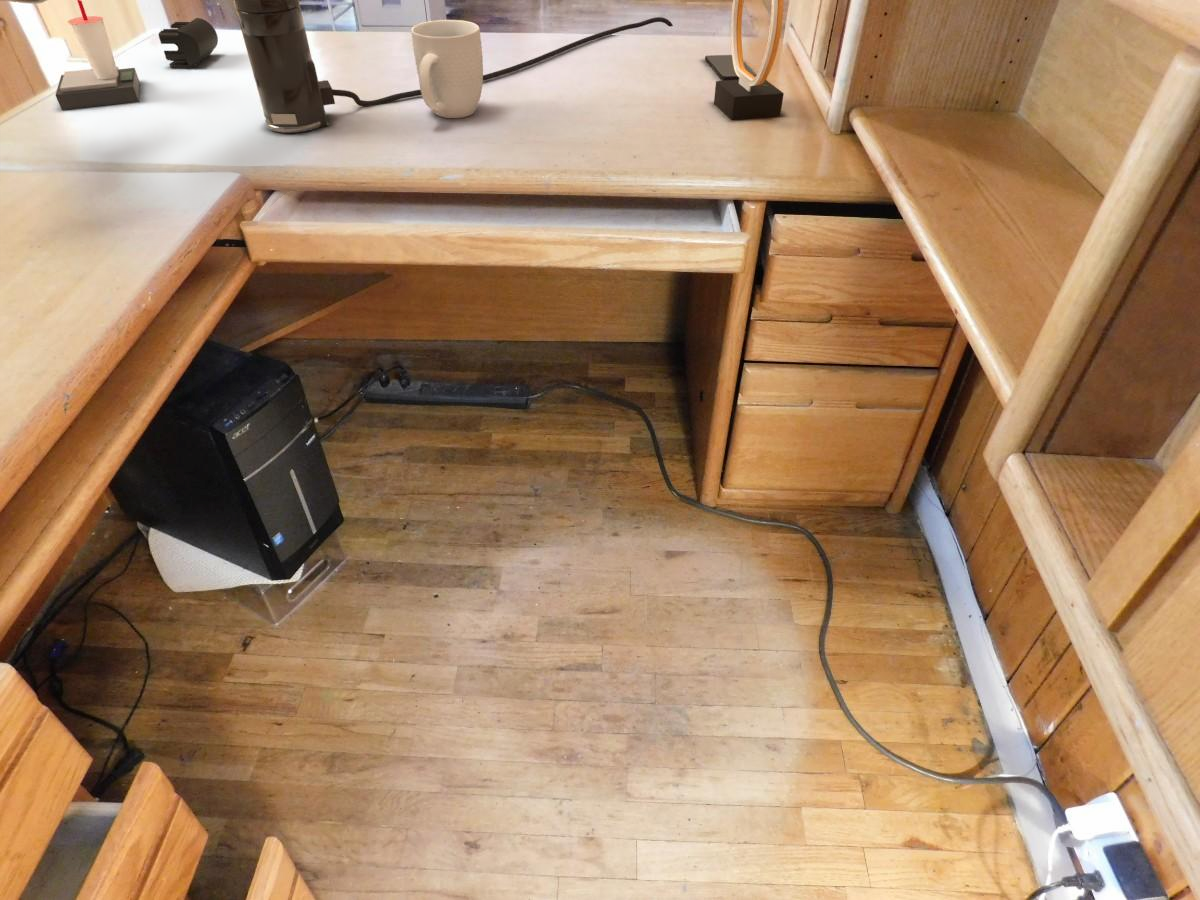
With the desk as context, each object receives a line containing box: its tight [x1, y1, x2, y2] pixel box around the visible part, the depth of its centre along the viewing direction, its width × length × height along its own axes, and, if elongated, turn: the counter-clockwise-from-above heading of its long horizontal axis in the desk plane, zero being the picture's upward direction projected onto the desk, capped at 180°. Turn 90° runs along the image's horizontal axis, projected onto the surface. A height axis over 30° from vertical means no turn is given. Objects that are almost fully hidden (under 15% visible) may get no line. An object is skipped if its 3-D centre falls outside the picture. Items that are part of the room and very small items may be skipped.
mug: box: [410, 19, 484, 119], centre depth 127 cm, size 15×11×13 cm
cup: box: [67, 0, 118, 79], centre depth 131 cm, size 5×5×12 cm
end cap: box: [158, 17, 219, 69], centre depth 151 cm, size 10×7×7 cm
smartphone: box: [704, 54, 757, 81], centre depth 151 cm, size 7×1×15 cm
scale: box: [55, 66, 141, 111], centre depth 136 cm, size 12×12×3 cm
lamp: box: [713, 0, 785, 121], centre depth 124 cm, size 17×9×32 cm, turn 14°
